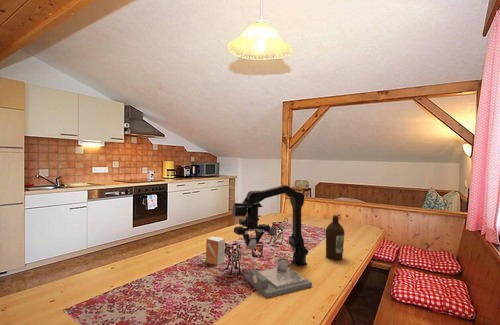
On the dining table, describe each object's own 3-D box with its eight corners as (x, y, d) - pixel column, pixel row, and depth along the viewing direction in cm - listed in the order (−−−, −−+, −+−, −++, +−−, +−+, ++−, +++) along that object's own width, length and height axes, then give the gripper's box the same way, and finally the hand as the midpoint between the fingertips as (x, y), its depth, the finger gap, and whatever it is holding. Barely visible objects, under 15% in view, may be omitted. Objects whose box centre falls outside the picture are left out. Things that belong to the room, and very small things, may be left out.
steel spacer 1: (253, 245, 143) (253, 236, 143) (258, 248, 139) (258, 238, 139) (245, 246, 141) (245, 237, 141) (249, 249, 137) (249, 239, 137)
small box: (205, 262, 146) (206, 238, 146) (212, 258, 152) (213, 235, 151) (217, 265, 142) (218, 241, 142) (224, 262, 148) (225, 238, 147)
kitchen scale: (285, 269, 140) (286, 259, 140) (311, 286, 122) (312, 274, 122) (244, 278, 128) (244, 266, 128) (265, 298, 111) (266, 285, 111)
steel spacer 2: (283, 266, 136) (283, 257, 136) (289, 270, 132) (289, 260, 132) (275, 268, 134) (275, 258, 134) (280, 272, 129) (281, 262, 129)
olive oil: (321, 256, 162) (322, 214, 161) (332, 253, 167) (334, 213, 167) (335, 262, 153) (337, 218, 152) (347, 258, 158) (349, 216, 158)
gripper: (260, 211, 151) (259, 239, 152) (229, 213, 143) (229, 243, 143) (271, 215, 141) (270, 245, 142) (238, 218, 133) (237, 249, 133)
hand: (251, 245), depth 140 cm, fingers closed on steel spacer 1, 5 cm apart
